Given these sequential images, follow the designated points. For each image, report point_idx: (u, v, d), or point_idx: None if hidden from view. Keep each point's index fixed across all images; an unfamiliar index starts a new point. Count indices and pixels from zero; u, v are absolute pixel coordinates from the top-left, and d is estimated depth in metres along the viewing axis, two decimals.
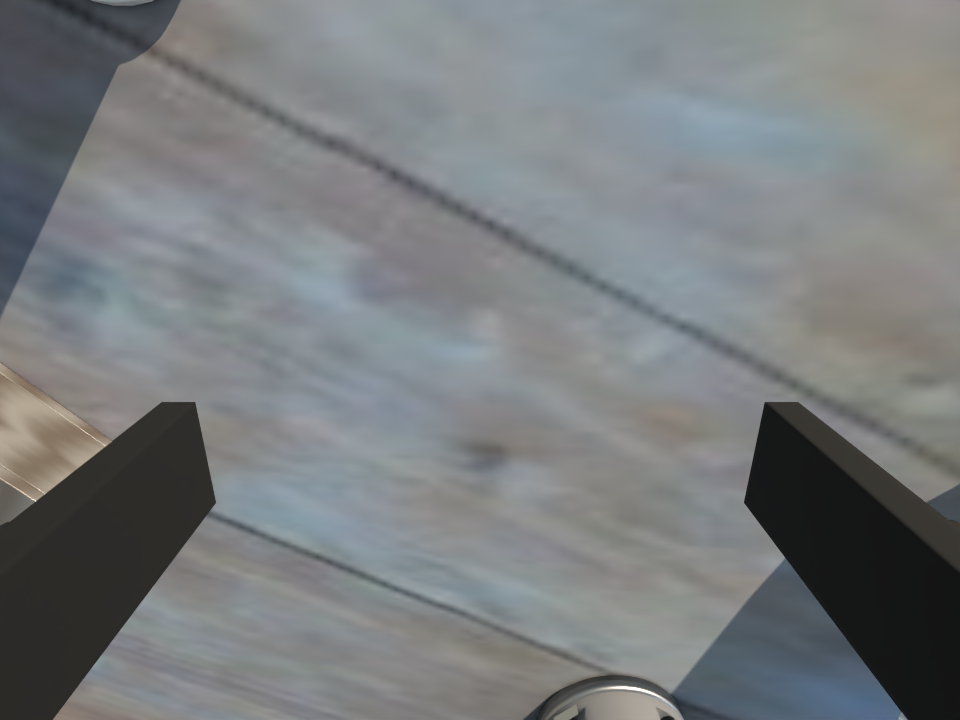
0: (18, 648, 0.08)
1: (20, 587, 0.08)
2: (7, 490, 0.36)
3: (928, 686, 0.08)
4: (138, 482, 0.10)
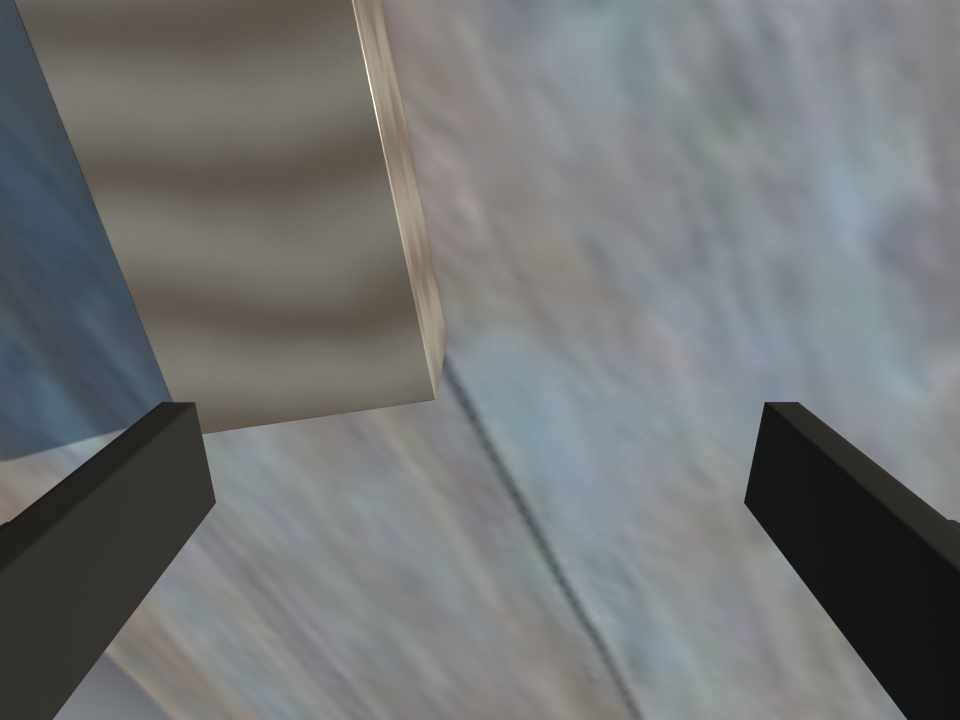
0: (18, 648, 0.08)
1: (21, 587, 0.08)
2: (370, 152, 0.20)
3: (928, 686, 0.08)
4: (138, 482, 0.10)
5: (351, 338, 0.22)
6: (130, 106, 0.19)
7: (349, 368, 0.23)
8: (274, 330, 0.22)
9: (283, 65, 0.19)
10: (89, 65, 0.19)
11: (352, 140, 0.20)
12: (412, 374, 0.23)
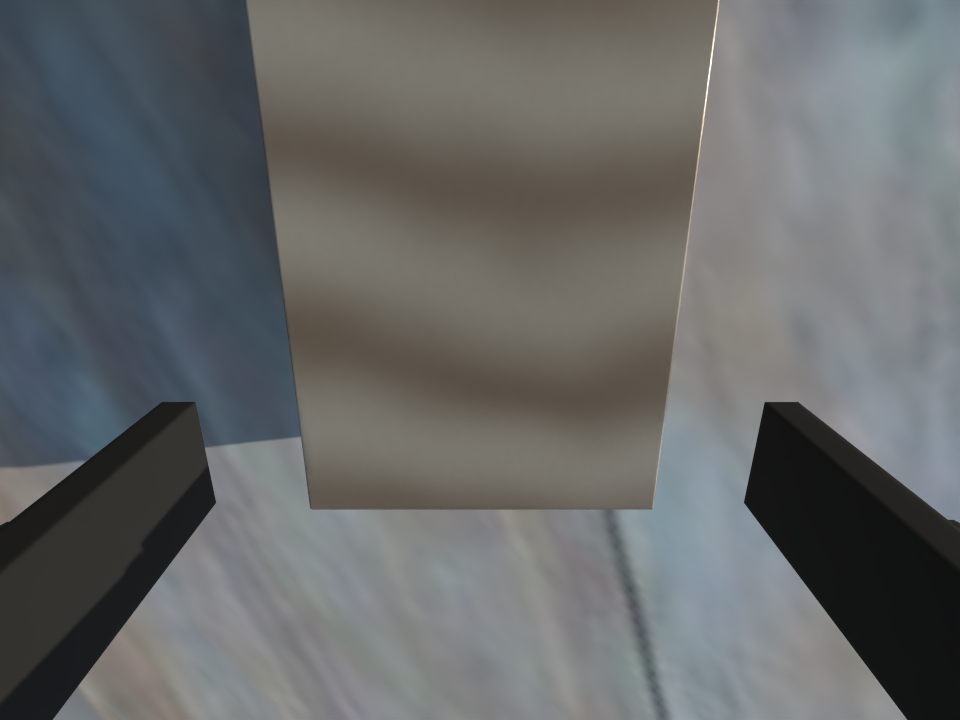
0: (18, 648, 0.08)
1: (21, 587, 0.08)
2: (677, 184, 0.14)
3: (928, 686, 0.08)
4: (137, 482, 0.10)
5: (570, 419, 0.17)
6: (361, 62, 0.13)
7: (555, 455, 0.17)
8: (471, 394, 0.16)
9: (597, 44, 0.13)
10: None
11: (657, 163, 0.14)
12: (633, 474, 0.17)
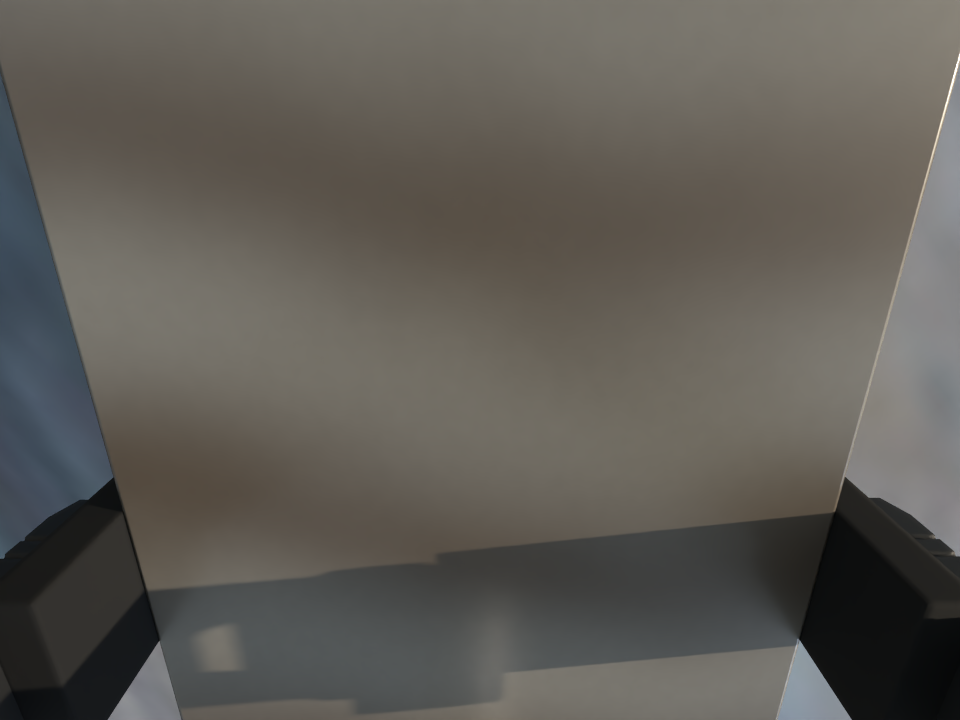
0: (107, 612, 0.08)
1: (108, 555, 0.08)
2: (885, 194, 0.07)
3: (842, 648, 0.08)
4: None
5: (637, 613, 0.09)
6: None
7: (608, 668, 0.10)
8: (460, 573, 0.09)
9: None
10: None
11: (850, 151, 0.07)
12: (743, 694, 0.10)
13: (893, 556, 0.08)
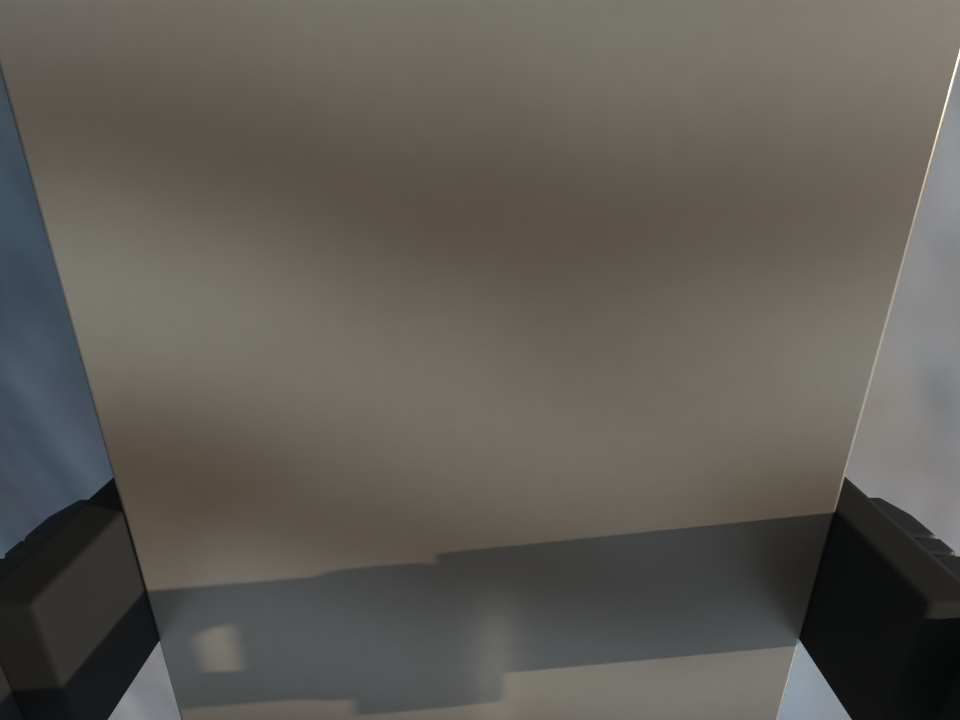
0: (106, 612, 0.08)
1: (108, 556, 0.08)
2: (885, 194, 0.07)
3: (842, 648, 0.08)
4: None
5: (637, 613, 0.09)
6: None
7: (608, 668, 0.10)
8: (460, 574, 0.09)
9: None
10: None
11: (849, 151, 0.07)
12: (743, 695, 0.10)
13: (893, 556, 0.08)
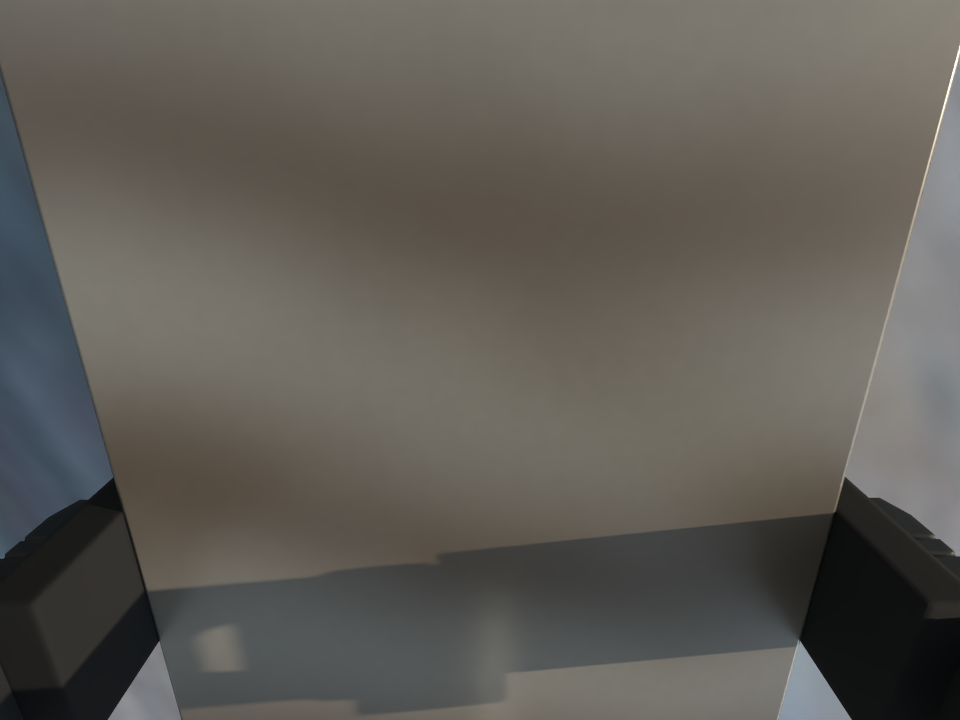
0: (107, 612, 0.08)
1: (109, 555, 0.08)
2: (884, 193, 0.07)
3: (842, 648, 0.08)
4: None
5: (638, 613, 0.09)
6: None
7: (608, 667, 0.10)
8: (460, 573, 0.09)
9: None
10: None
11: (849, 150, 0.07)
12: (744, 695, 0.10)
13: (893, 556, 0.08)
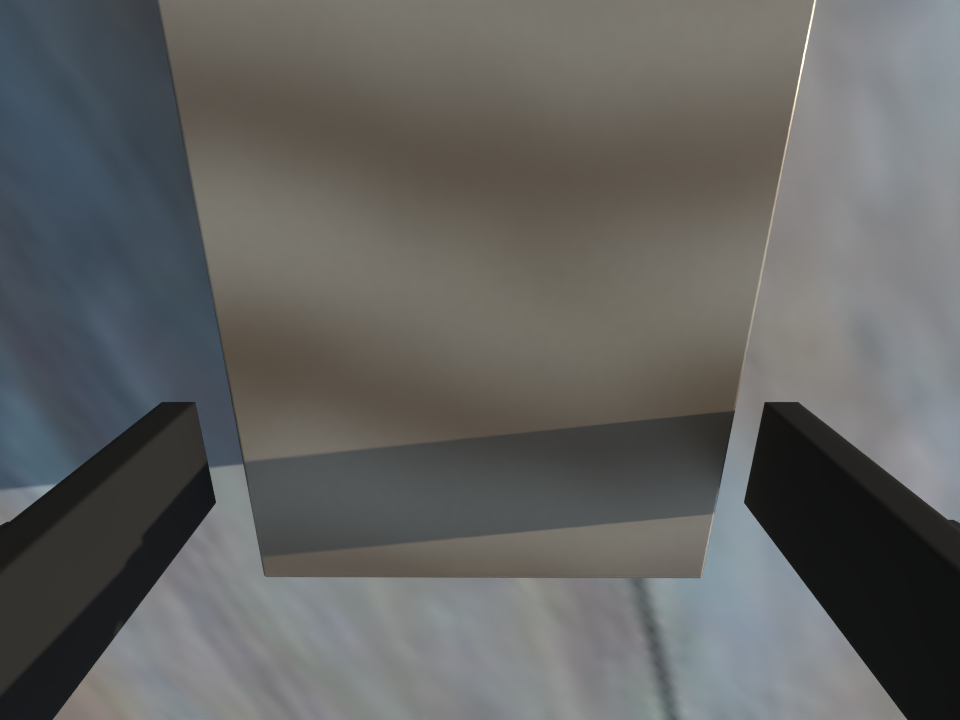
0: (18, 648, 0.08)
1: (20, 587, 0.08)
2: (760, 156, 0.10)
3: (928, 686, 0.08)
4: (137, 482, 0.10)
5: (599, 469, 0.13)
6: None
7: (578, 514, 0.13)
8: (469, 437, 0.12)
9: None
10: None
11: (733, 126, 0.10)
12: (679, 537, 0.13)
13: None
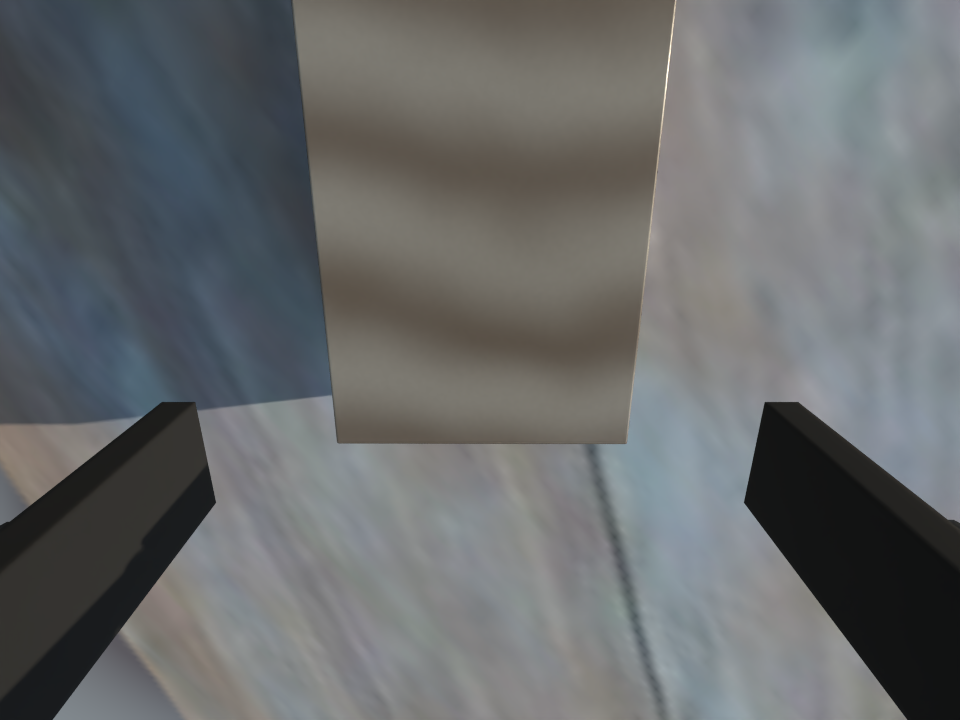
0: (18, 648, 0.08)
1: (21, 587, 0.08)
2: (642, 166, 0.17)
3: (928, 686, 0.08)
4: (137, 482, 0.10)
5: (556, 365, 0.20)
6: (385, 66, 0.16)
7: (543, 397, 0.20)
8: (473, 343, 0.19)
9: (576, 52, 0.16)
10: (351, 10, 0.16)
11: (626, 149, 0.17)
12: (609, 413, 0.20)
13: None
